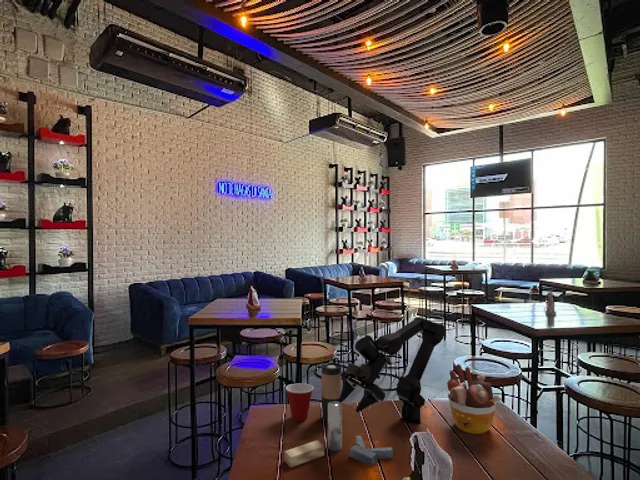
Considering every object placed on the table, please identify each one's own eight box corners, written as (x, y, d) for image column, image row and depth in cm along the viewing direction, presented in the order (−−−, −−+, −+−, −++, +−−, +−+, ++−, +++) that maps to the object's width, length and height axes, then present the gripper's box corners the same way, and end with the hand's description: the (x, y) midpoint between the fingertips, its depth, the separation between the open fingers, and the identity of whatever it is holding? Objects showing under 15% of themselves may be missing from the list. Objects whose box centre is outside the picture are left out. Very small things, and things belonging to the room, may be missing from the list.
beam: (317, 449, 121) (317, 440, 121) (324, 455, 118) (324, 445, 118) (284, 461, 115) (284, 451, 115) (290, 467, 111) (290, 457, 111)
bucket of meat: (509, 439, 127) (508, 380, 127) (462, 442, 125) (462, 382, 125) (478, 412, 147) (477, 362, 147) (437, 415, 145) (437, 363, 145)
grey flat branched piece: (358, 441, 125) (358, 434, 125) (394, 456, 117) (394, 448, 117) (342, 453, 119) (342, 445, 119) (379, 469, 110) (379, 461, 110)
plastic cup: (317, 413, 146) (317, 383, 146) (308, 426, 136) (307, 393, 136) (292, 409, 150) (292, 379, 150) (281, 422, 140) (280, 390, 140)
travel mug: (340, 423, 138) (339, 369, 138) (319, 421, 140) (319, 368, 140) (342, 414, 146) (342, 363, 146) (323, 412, 147) (323, 361, 147)
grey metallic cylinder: (342, 444, 124) (342, 401, 124) (341, 451, 120) (340, 407, 120) (329, 442, 125) (328, 400, 125) (326, 450, 121) (326, 406, 121)
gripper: (344, 347, 136) (318, 384, 130) (378, 361, 121) (351, 403, 115) (361, 365, 141) (337, 401, 134) (396, 381, 125) (371, 422, 119)
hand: (348, 406), depth 125 cm, fingers open, 9 cm apart
